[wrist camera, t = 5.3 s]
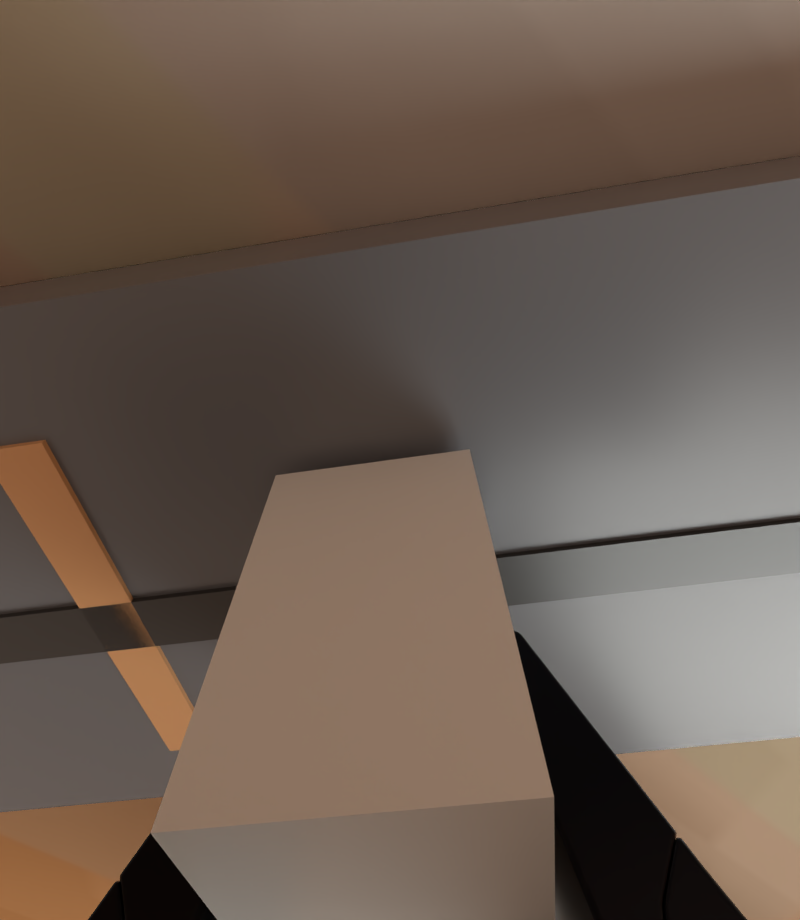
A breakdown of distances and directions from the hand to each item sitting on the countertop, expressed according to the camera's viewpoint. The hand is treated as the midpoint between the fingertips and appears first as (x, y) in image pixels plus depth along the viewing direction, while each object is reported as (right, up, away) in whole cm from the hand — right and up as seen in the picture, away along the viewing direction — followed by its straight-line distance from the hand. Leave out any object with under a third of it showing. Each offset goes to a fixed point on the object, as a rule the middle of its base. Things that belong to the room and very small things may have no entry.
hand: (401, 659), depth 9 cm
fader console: (+2, +2, +3) cm, 4 cm away
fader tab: (0, +1, +1) cm, 1 cm away
